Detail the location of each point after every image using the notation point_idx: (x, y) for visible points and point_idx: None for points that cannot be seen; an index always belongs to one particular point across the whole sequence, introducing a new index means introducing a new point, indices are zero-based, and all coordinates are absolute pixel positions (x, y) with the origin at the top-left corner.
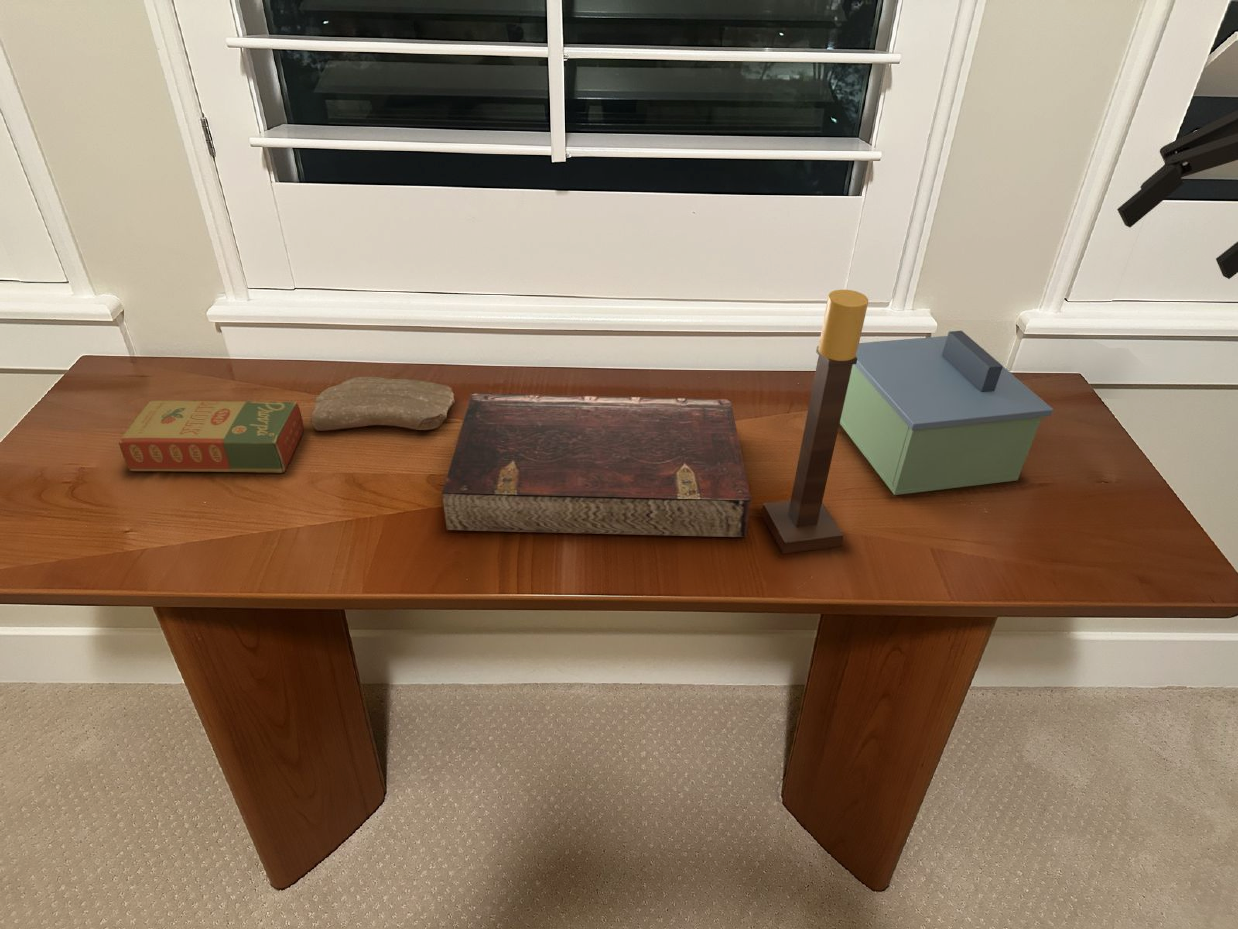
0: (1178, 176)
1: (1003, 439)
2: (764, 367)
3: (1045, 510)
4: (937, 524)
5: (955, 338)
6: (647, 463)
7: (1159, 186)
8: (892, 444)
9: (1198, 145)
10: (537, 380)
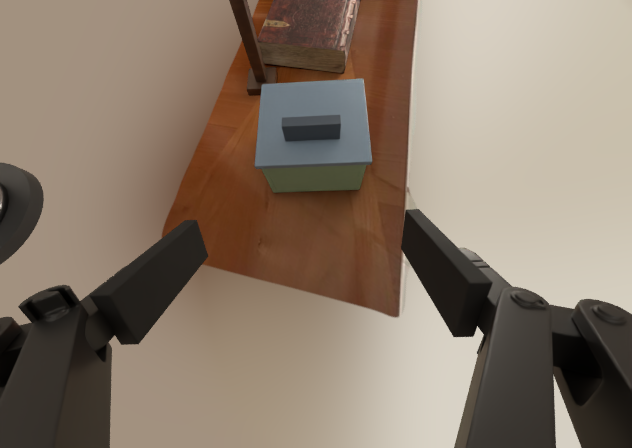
0: (457, 308)
1: None
2: (414, 104)
3: (245, 193)
4: (251, 137)
5: (329, 115)
6: (293, 13)
7: (437, 263)
8: None
9: (609, 422)
10: (402, 10)
